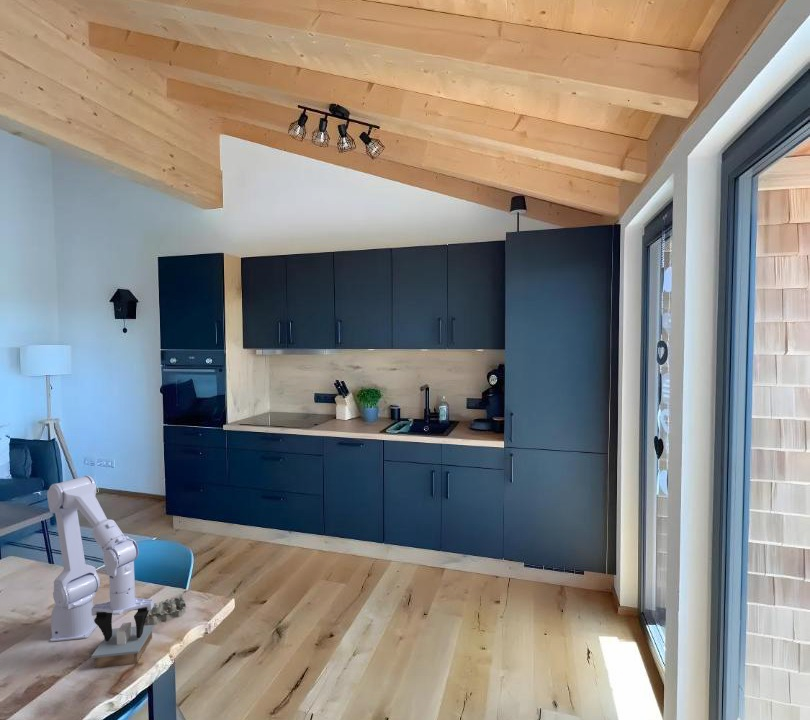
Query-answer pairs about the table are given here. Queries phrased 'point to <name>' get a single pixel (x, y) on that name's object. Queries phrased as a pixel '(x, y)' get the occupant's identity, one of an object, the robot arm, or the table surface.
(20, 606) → the table surface
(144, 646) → the box
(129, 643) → the lid
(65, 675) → the table surface
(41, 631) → the table surface
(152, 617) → the egg carton
